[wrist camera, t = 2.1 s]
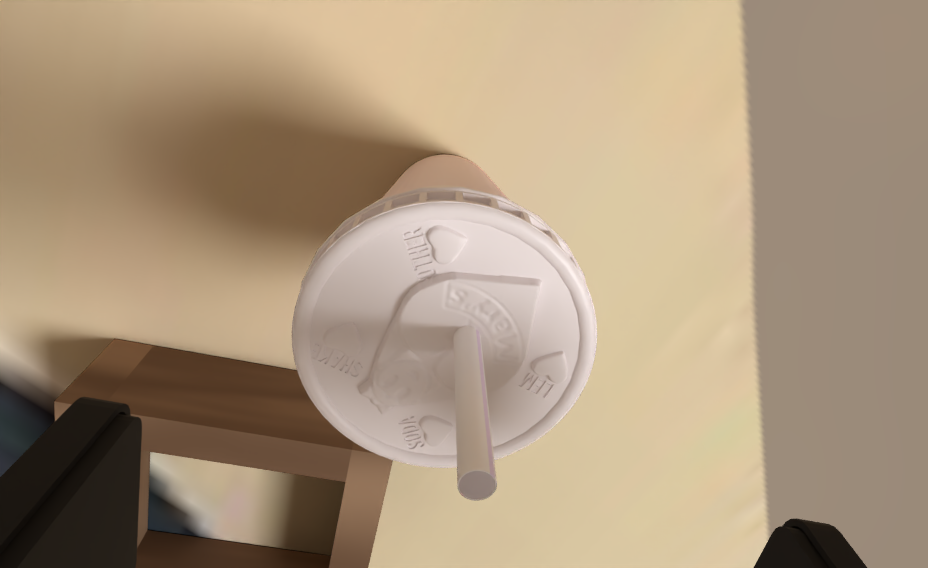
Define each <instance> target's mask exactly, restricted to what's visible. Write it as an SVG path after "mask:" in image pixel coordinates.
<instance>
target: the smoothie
mask: <svg viewBox="0 0 928 568" xmlns="http://www.w3.org/2000/svg"><path fill="white" fill-rule="evenodd" d="M596 345H597V322H596V316H595V309H594V306H593V302H592V299H591V295H590V293H589V290H588V288H587V285H586V281H585V276H584V273H583V272H582V270H581V268H580V266H579V265H578V263H577V261H576V259H575V257H574V256H573V254H572V252H571V250H570V249H569V247H568V245H567V243H566V242H565V241H564V240H563V239H562V238H561V237H560V236H559V235H558V234H557V233H556V232H555V231H554V230H553V229H552V228H551V227H550V226H548V225H547V224H546V223H545V222H544V221H543V220H542V219H541V218H540V217H539V216H538V215H536V214H534V213H532V212H531V211H529V210H527V209H525V208H523V207H521V206H520V205H518V204H516V203H514V202H512V201H510V200H509V199H508V198H507V197H506V196H505V195H504V193H503V192H502V191H501V190H500V189H499V188H498V187H497V185H496V184H495V183H494V182H493V181H492V180H491V179H490V177H489V176H488V175H487V174H486V173H485V172H484V171H483V170H482V169H481V168H480V167H479V166H478V165H476V164H475V163H473V162H471V161H470V160H468V159H465V158H462V157H459V156H455V155H446V154H445V155H434V156H430V157H427V158H424V159H422V160H419V161H418V162H416V163H414V164H413V165H412V166H410V167H409V168H408V169H407V170H406V171H405V172H404V173H403V174H402V175H401V176H400V178H399V179H398V180H397V181H396V182H395V183H394V185H393V186H392V187H391V188H390V189H389V190H388V191H387V193H386V194H385V195H384V196H383V197H382V198H381V199H379V200H377V201H376V202H374V203H372V204H371V205H369V206H367V207H366V208H364V209H362V210H361V211H359V212H357V213H356V214H354V215H352V216H351V217H349V218H347V219H346V220H344V221H343V222H342V224H341V225H340V226H339V227H338V228H337V229H336V230H335V231H334V232H333V233H332V234H331V235H330V236H329V237H328V239H327V240H326V241H325V242H324V243H323V244H322V245H321V246H320V247H319V248H318V250H317V252H316V254H315V256H314V258H313V260H312V262H311V264H310V266H309V268H308V270H307V272H306V274H305V276H304V278H303V280H302V284H301V290H300V293H299V296H298V300H297V303H296V306H295V311H294V316H293V323H292V348H293V354H294V360H295V364H296V367H297V371H298V374H299V377H300V379H301V382H302V384H303V386H304V388H305V390H306V392H307V394H308V396H309V397H310V399H311V400H312V402H313V403H314V405H315V406H316V408H317V409H318V410H319V411H320V413H321V414H322V415H323V416H324V417H325V418H326V419H327V420H328V421H329V422H330V423H331V424H332V425H333V427H335V428H336V429H337V430H338V431H339V432H341V433H342V434H343V435H344V436H346V437H347V438H349V439H350V440H352V441H353V442H354V443H356V444H358V445H360V446H361V447H363V448H365V449H367V450H369V451H371V452H373V453H375V454H377V455H380V456H383V457H385V458H388V459H391V460H394V461H398V462H401V463H405V464H410V465H416V466H423V467H434V468H453V467H457V484H458V490H459V492H460V494H461V495H462V496H464V497H465V498H467V499H470V500H483V499H486V498H488V497H490V496H491V495H492V494H493V493H494V492H495V490H496V487H497V480H496V471H495V462H494V460H497V459H500V458H503V457H505V456H508V455H510V454H513V453H515V452H517V451H519V450H521V449H523V448H525V447H527V446H528V445H530V444H532V443H533V442H535V441H536V440H538V439H539V438H541V437H542V436H544V435H545V434H546V433H547V432H549V431H550V430H551V429H552V428H553V427H555V426H556V425H557V424H558V423H559V422H560V421H561V420H562V419H563V418H564V416H565V415H566V414H567V413H568V412H569V410H570V409H571V408H572V407H573V405H574V404H575V402H576V401H577V399H578V398H579V396H580V394H581V392H582V391H583V389H584V387H585V385H586V383H587V380H588V378H589V375H590V373H591V369H592V366H593V363H594V358H595V352H596Z"/></svg>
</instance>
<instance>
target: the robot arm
mask: <svg viewBox="0 0 928 568" xmlns="http://www.w3.org/2000/svg"><path fill="white" fill-rule="evenodd" d="M141 440H142V421H141V418H139V417H135V416H131V414H130V408H129V406H128V405H127V404H125V403H119V402H113V401H107V400H101V399H96V398H90V397H80V398H79V399H77V400H76V401H75V402H74V403H73V404H72V405H71V406H70V407H69V408H68V409H67V410H66V411H65V412H64V413H63V414H62V415H61V416H60V417H59V418H58V419H57V420H56V421H55V422H54V423H53V424H52V425H51V426H50V427H49V428H48V429H47V430H46V431H45V432H44V433H43V434H42V435H41V436H40V437H39V438H38V439H37V440H36V441H35V443H34V444H33V445H32V446H31V447H30V448H29V449H28V450H27V451H26V452H25V453H24V454H23V455H22V456H21V457H20V458H19V459H18V460H17V461H16V462H15V463H14V464H13V465H12V466H11V467H10V468H9V469H8V470H7V471H6V472H5V473H4V474H3V475H2V476H1V477H0V568H136V561H137V538H138V514H139V489H140V464H141ZM754 568H867V567H866V565H865V564H864V563H863V561H862V560H861V559H860V558H859V556H858V555H857V554H856V552H855V551H854V550H853V548H852V547H851V546H850V545H849V543H848V542H847V541H846V539H845V538H844V537H843V535H842V534H841V533H840V532H839V531H838V530H837V529H836V528H835V527H834V526H831V525H829V524H825V523H819V522H813V521H807V520H801V519H790V520H788V521H787V522H785V524H784V525H783V526H782V527H778V528H776V529H775V531H774V532H773V533H772V535H771V537H770V538H769V540H768V542H767V544H766V546H765V548H764V549H763V551H762V553H761V555H760V557H759V559H758V561H757V562H756V564H755V566H754Z"/></svg>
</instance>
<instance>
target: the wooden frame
mask: <svg viewBox="0 0 928 568" xmlns="http://www.w3.org/2000/svg"><path fill="white" fill-rule="evenodd" d="M80 397H90V398H96V399H101V400H107V401H113V402H119V403H125V404H127V405H128V406H129V408H130V414H131V416H135V417H139V418H141V421H142V440H141V464H140V489H139V514H138V538H137V561H136V568H368V565H369V561H370V557H371V552H372V548H373V544H374V539H375V535H376V531H377V526H378V522H379V518H380V513H381V509H382V505H383V500H384V496H385V492H386V487H387V483H388V479H389V474H390V470H391V466H392V461H393V460H391V459H388V458H385V457H383V456H380V455H377V454H375V453H373V452H371V451H369V450H367V449H365V448H363V447H361V446H360V445H358V444H356V443H354V442H353V441H352V440H350V439H349V438H347V437H346V436H344V435H343V434H342V433H341V432H339V431H338V430H337V429H336V428H335V427H333V425H332V424H331V423H330V422H329V421H328V420H327V419H326V418H325V417H324V416H323V415H322V414H321V413H320V411H319V410H318V409H317V408H316V406H315V405H314V403H313V402H312V400H311V399H310V397H309V396H308V394H307V392H306V390H305V388H304V386H303V384H302V382H301V379H300V377H299V374H298V371H295V370H289V369H284V368H278V367H272V366H267V365H261V364H255V363H250V362H244V361H238V360H232V359H227V358H221V357H215V356H210V355H204V354H198V353H193V352H187V351H181V350H175V349H170V348H164V347H158V346H153V345H147V344H141V343H136V342H130V341H124V340H119V339H114V340H113V341H112V342H111V343H110V344H109V345H108V346H107V347H106V348H105V350H104V351H103V352H102V353H101V354H100V355H99V356H98V357H97V358H96V359H95V360H94V361H93V362H92V363H91V364H90V365H89V366H88V367H87V368H86V369H85V370H84V371H83V372H82V373H81V374H80V375H79V376H78V377H77V378H76V379H75V381H74V382H73V383H72V384H71V385H70V386H69V387H68V388H67V389H66V390H65V391H64V392H63V393H62V394H61V395H60V396H59V397H58V398H57V399H56V400H55V401H54V409H55V421H56V420H57V419H58V418H59V417H60V416H61V415H62V414H63V413H64V412H65V411H66V410H67V409H68V408H69V407H70V406H71V405H72V404H73V403H74V402H75V401H76V400H77V399H79V398H80ZM150 452H156V453H162V454H169V455H175V456H181V457H188V458H194V459H201V460H207V461H213V462H220V463H226V464H233V465H239V466H246V467H252V468H258V469H265V470H271V471H278V472H284V473H290V474H297V475H303V476H310V477H316V478H322V479H329V480H335V481H342V482H346V483H345V488H344V493H343V498H342V503H341V508H340V513H339V519H338V524H337V529H336V534H335V539H334V544H333V549H332V554H331V556H327V555H320V554H313V553H305V552H298V551H291V550H284V549H277V548H270V547H263V546H256V545H249V544H242V543H235V542H228V541H221V540H214V539H207V538H200V537H192V536H185V535H178V534H171V533H164V532H157V531H150V530H147V526H148V497H149V468H150Z"/></svg>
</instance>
